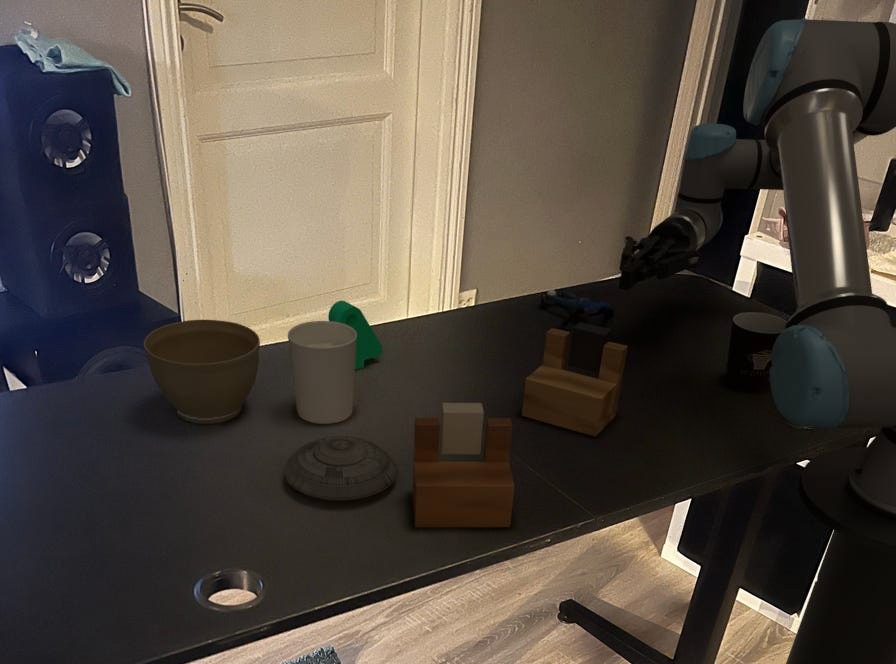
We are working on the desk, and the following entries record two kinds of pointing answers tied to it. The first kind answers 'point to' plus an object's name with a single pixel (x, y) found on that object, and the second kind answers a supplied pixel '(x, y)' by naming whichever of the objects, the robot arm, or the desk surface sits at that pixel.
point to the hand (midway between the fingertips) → (624, 280)
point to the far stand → (574, 388)
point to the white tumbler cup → (323, 370)
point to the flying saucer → (340, 469)
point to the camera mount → (357, 331)
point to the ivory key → (461, 428)
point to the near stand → (462, 480)
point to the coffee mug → (752, 350)
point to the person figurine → (577, 305)
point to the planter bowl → (204, 366)
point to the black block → (588, 346)
